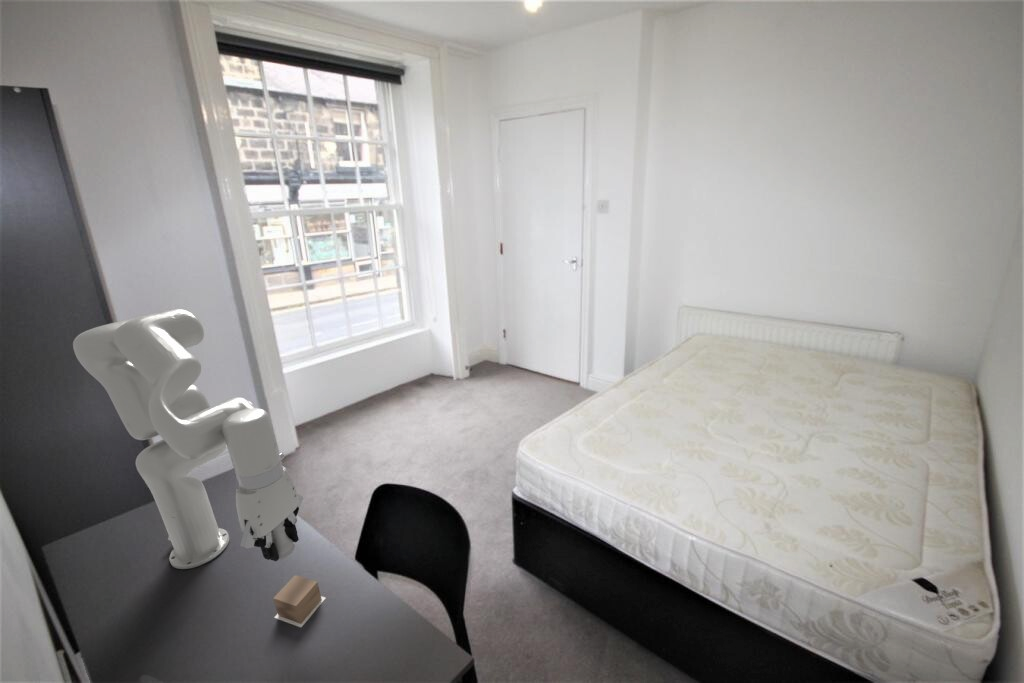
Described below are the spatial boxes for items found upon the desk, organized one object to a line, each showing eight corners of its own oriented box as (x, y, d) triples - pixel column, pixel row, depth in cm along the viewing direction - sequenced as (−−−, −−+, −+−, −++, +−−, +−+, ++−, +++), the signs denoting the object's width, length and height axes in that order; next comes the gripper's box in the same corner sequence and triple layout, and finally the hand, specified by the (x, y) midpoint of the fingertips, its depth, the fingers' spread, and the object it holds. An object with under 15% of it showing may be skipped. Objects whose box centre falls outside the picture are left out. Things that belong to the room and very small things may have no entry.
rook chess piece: (285, 562, 88) (276, 529, 85) (265, 559, 89) (256, 527, 86) (300, 545, 92) (291, 513, 90) (281, 542, 93) (272, 511, 90)
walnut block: (278, 615, 94) (273, 598, 93) (299, 592, 100) (295, 574, 98) (301, 623, 92) (296, 606, 91) (321, 599, 98) (317, 581, 96)
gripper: (280, 445, 93) (299, 516, 99) (204, 498, 78) (231, 577, 84) (309, 451, 90) (326, 524, 97) (235, 506, 75) (261, 588, 82)
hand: (282, 548), depth 90 cm, fingers closed on rook chess piece, 4 cm apart
